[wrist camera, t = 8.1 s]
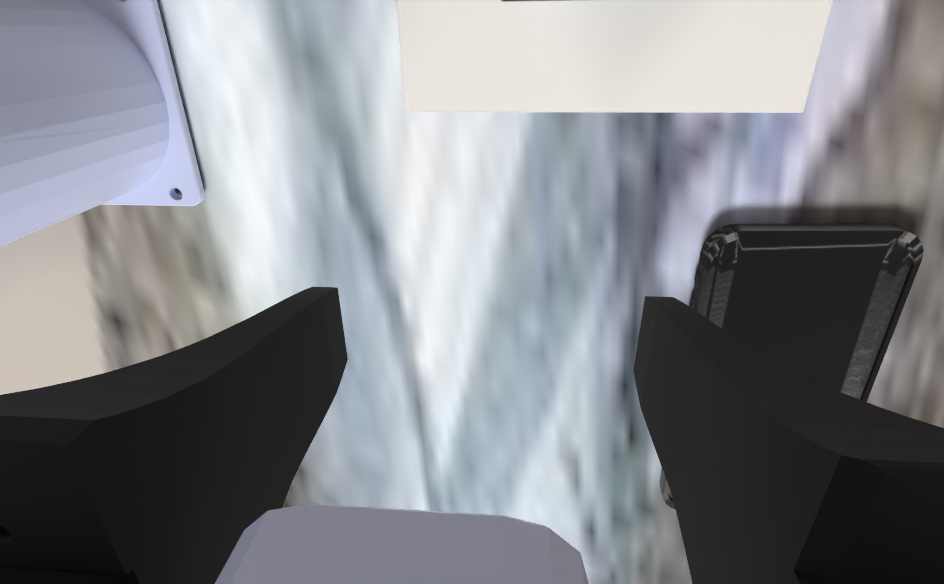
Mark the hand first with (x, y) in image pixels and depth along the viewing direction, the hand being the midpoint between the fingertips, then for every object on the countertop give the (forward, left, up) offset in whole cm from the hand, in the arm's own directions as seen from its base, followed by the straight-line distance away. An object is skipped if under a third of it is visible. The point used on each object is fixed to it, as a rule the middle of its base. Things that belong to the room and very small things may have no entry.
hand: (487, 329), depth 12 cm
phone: (+12, -8, -10) cm, 18 cm away
